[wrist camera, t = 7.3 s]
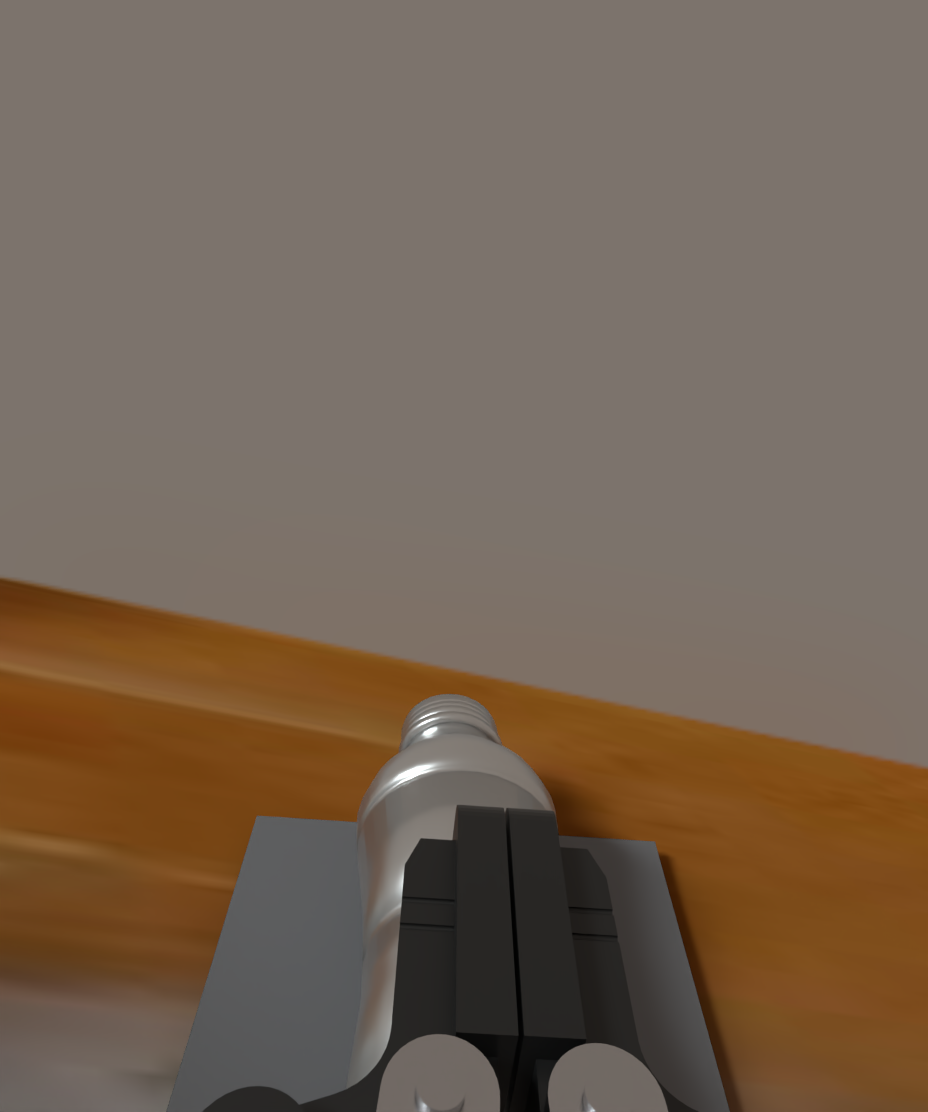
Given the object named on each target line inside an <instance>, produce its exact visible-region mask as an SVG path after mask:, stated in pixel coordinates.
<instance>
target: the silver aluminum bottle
mask: <svg viewBox="0 0 928 1112" xmlns="http://www.w3.org/2000/svg"><path fill="white" fill-rule="evenodd" d="M457 805H472V806H486V807H501V808H504V812H505V811H506V808H519V809H534V810H548V811H554V813H555V816H556V810H555V807H554V804H553V801H552V798H551V795H550V794H549V792H548V791H547V789H546V787H545V786H544V784H543V782H542V781H541V780H540V778H539V777H538V776H537V774H536V773H535V772H534V771H533V769H532V768H531V767H530V766H529V765H528V764H527V763H526V762H525V761H524V760H523V759H522V758H521V757H520V756H518V755H517V754H515V753H514V752H512V751H511V750H509V749H508V748H506V747H504V746H503V745H502V742H501V739H500V737H499V736H498V733H497V728H496V725H495V722H494V720H493V718H492V716H491V715H490V713H489V712H488V711H487V710H486V709H485V707H484V706H482V705H481V704H480V703H478V702H477V701H475V700H473V699H471V698H468V697H465V696H461V695H455V694H444V695H437V696H433V697H430V698H428V699H426V700H423V701H422V702H420V703H419V704H417V705H416V706H415V707H414V708H413V709H412V710H411V711H410V712H409V714H408V715H407V717H406V719H405V721H404V724H403V727H402V734H401V743H400V746H399V753H398V754H397V755H395V756H394V757H392V758H391V759H390V760H389V761H388V762H387V763H386V764H385V765H384V766H383V767H382V768H381V769H380V770H379V772H378V774H377V775H376V777H375V778H374V780H373V782H372V783H371V785H370V787H369V788H368V790H367V792H366V793H365V795H364V797H363V799H362V802H361V805H360V808H359V811H358V817H357V846H356V847H357V856H358V866H359V877H360V888H361V899H362V909H363V946H362V962H363V967H362V987H361V1004H360V1010H359V1016H358V1021H357V1027H356V1033H355V1039H354V1044H353V1050H352V1056H351V1062H350V1067H349V1073H348V1079H347V1085H346V1089H348V1088H349V1087H351V1086H353V1085H355V1084H356V1083H358V1082H359V1081H360V1080H362V1079H363V1078H364V1077H365V1076H367V1075H368V1073H369V1072H370V1071H371V1070H372V1069H373V1068H374V1067H375V1066H376V1064H377V1063H378V1062H379V1060H380V1059H381V1057H382V1055H383V1053H384V1051H385V1049H386V1047H387V1044H388V1041H389V1038H390V1032H391V1025H392V1012H393V1000H394V988H395V976H396V964H397V952H398V940H399V927H400V915H401V903H402V891H403V879H404V867H405V863H406V862H407V860H408V858H409V857H410V855H411V853H412V852H413V850H414V848H415V847H416V845H417V844H418V842H419V840H420V839H421V838H427V839H442V840H452V839H453V830H454V821H455V813H456V806H457ZM556 821H557V819H556ZM557 828H558V825H557Z"/></svg>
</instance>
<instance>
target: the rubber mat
mask: <svg viewBox="0 0 928 1112" xmlns="http://www.w3.org/2000/svg"><path fill="white" fill-rule="evenodd" d="M558 836H559V835H558ZM559 843H560V847H566V848H581V849H588V851H589V852H590V854H591V855H592V857H593V858H594V860H595V861H596V863H597V864H598V866H599V867H600V869H601V870H602V872H603V873H604V875H605V876H606V878H607V883H608V888H609V893H610V898H611V903H612V908H613V911H612V914H613V916H614V919H615V924H616V929H617V934H618V942H619V944H620V949H621V954H622V959H623V965H624V970H625V975H626V980H627V985H628V990H629V995H630V1000H631V1005H632V1011H633V1016H634V1021H635V1026H636V1031H637V1036H638V1041H639V1045H640V1048H641V1052H642V1054H643V1056H644V1059H645V1061H646V1063H647V1065H648V1067H649V1068H650V1070H651V1072H652V1073H653V1074H654V1076H655V1077H656V1078H657V1080H658V1081H659V1082H660V1083H661V1085H662V1086H663V1087H664V1088H665V1089H666V1090H667V1091H668V1092H669V1093H671V1094H672V1095H673V1096H674V1097H675V1098H677V1099H678V1100H679V1101H681V1102H682V1103H684V1104H685V1105H687V1106H688V1107H690V1108H692V1109H694V1110H696V1111H698V1112H730V1110H729V1106H728V1103H727V1099H726V1096H725V1092H724V1089H723V1085H722V1081H721V1078H720V1074H719V1071H718V1067H717V1063H716V1060H715V1056H714V1053H713V1049H712V1045H711V1042H710V1038H709V1035H708V1031H707V1027H706V1024H705V1020H704V1017H703V1013H702V1010H701V1006H700V1002H699V999H698V995H697V992H696V988H695V984H694V981H693V977H692V974H691V970H690V966H689V963H688V959H687V956H686V952H685V948H684V945H683V941H682V938H681V934H680V930H679V927H678V923H677V920H676V916H675V913H674V909H673V905H672V902H671V898H670V895H669V891H668V887H667V884H666V880H665V877H664V873H663V869H662V866H661V862H660V859H659V855H658V851H657V848H656V844H655V842H651V841H636V840H621V839H605V838H590V837H575V836H559ZM356 846H357V822H344V821H329V820H314V819H298V818H283V817H268V816H257V817H256V821H255V824H254V827H253V831H252V834H251V837H250V840H249V844H248V847H247V850H246V853H245V857H244V860H243V863H242V866H241V870H240V873H239V876H238V879H237V883H236V886H235V889H234V893H233V896H232V899H231V902H230V906H229V909H228V912H227V915H226V919H225V922H224V925H223V928H222V932H221V935H220V938H219V941H218V945H217V948H216V951H215V955H214V958H213V961H212V964H211V968H210V971H209V974H208V977H207V981H206V984H205V987H204V990H203V994H202V997H201V1000H200V1003H199V1007H198V1010H197V1013H196V1017H195V1020H194V1023H193V1026H192V1030H191V1033H190V1036H189V1039H188V1043H187V1046H186V1049H185V1052H184V1056H183V1059H182V1062H181V1065H180V1069H179V1072H178V1075H177V1079H176V1082H175V1085H174V1088H173V1092H172V1095H171V1098H170V1101H169V1105H168V1108H167V1111H166V1112H202V1111H203V1110H204V1109H205V1108H207V1107H208V1106H209V1105H210V1104H211V1103H213V1102H214V1101H215V1100H217V1099H218V1098H220V1097H222V1096H223V1095H225V1094H227V1093H229V1092H232V1091H234V1090H236V1089H240V1088H244V1087H249V1086H265V1087H271V1088H274V1089H278V1090H280V1091H282V1092H284V1093H286V1094H288V1095H289V1096H290V1097H291V1098H293V1099H294V1100H295V1101H296V1102H297V1103H298V1104H299V1105H300V1104H303V1103H306V1102H309V1101H313V1100H316V1099H319V1098H322V1097H326V1096H329V1095H332V1094H335V1093H338V1092H340V1091H343V1090H346V1085H347V1079H348V1073H349V1067H350V1062H351V1056H352V1050H353V1044H354V1039H355V1033H356V1027H357V1021H358V1016H359V1010H360V1004H361V987H362V967H363V962H362V946H363V909H362V899H361V888H360V877H359V866H358V856H357V847H356Z"/></svg>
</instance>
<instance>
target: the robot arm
mask: <svg viewBox="0 0 928 1112" xmlns="http://www.w3.org/2000/svg"><path fill="white" fill-rule="evenodd" d="M612 911H613V908H612V903H611V898H610V893H609V888H608V883H607V878H606V876H605V875H604V873H603V872H602V870H601V869H600V867H599V866H598V864H597V863H596V861H595V860H594V858H593V857H592V855H591V854H590V852H589V851H588V849H581V848H566V847H560V843H559V836H558V828H557V821H556V816H555V813H554V811H548V810H534V809H519V808H506V811H505V812H504V808H501V807H486V806H472V805H457V806H456V813H455V821H454V830H453V839H452V840H442V839H427V838H421V839H420V840H419V842H418V844H417V845H416V847H415V848H414V850H413V852H412V853H411V855H410V857H409V858H408V860H407V862H406V863H405V867H404V879H403V891H402V903H401V915H400V927H399V940H398V952H397V964H396V976H395V988H394V1000H393V1012H392V1025H391V1032H390V1038H389V1041H388V1044H387V1047H386V1049H385V1051H384V1053H383V1055H382V1057H381V1059H380V1060H379V1062H378V1063H377V1064H376V1066H375V1067H374V1068H373V1069H372V1070H371V1071H370V1072H369V1073H368V1075H367V1076H365V1077H364V1078H363V1079H362V1080H360V1081H359V1082H358V1083H356V1084H355V1085H353V1086H351V1087H349V1088H348V1089H346V1090H343V1091H340V1092H338V1093H335V1094H332V1095H329V1096H326V1097H322V1098H319V1099H316V1100H313V1101H309V1102H306V1103H303V1104H300V1105H299V1104H298V1103H297V1102H296V1101H295V1100H294V1099H293V1098H291V1097H290V1096H289V1095H288V1094H286V1093H284V1092H282V1091H280V1090H278V1089H274V1088H271V1087H265V1086H249V1087H244V1088H240V1089H236V1090H234V1091H232V1092H229V1093H227V1094H225V1095H223V1096H222V1097H220V1098H218V1099H217V1100H215V1101H214V1102H213V1103H211V1104H210V1105H209V1106H208V1107H207V1108H205V1109H204V1110H203V1111H202V1112H698V1111H696V1110H694V1109H692V1108H690V1107H688V1106H687V1105H685V1104H684V1103H682V1102H681V1101H679V1100H678V1099H677V1098H675V1097H674V1096H673V1095H672V1094H671V1093H669V1092H668V1091H667V1090H666V1089H665V1088H664V1087H663V1086H662V1085H661V1083H660V1082H659V1081H658V1080H657V1078H656V1077H655V1076H654V1074H653V1073H652V1072H651V1070H650V1068H649V1067H648V1065H647V1063H646V1061H645V1059H644V1056H643V1054H642V1052H641V1048H640V1045H639V1041H638V1036H637V1031H636V1026H635V1021H634V1016H633V1011H632V1005H631V1000H630V995H629V990H628V985H627V980H626V975H625V970H624V965H623V959H622V954H621V949H620V944H619V942H618V934H617V929H616V924H615V919H614V916H613V914H612Z"/></svg>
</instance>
